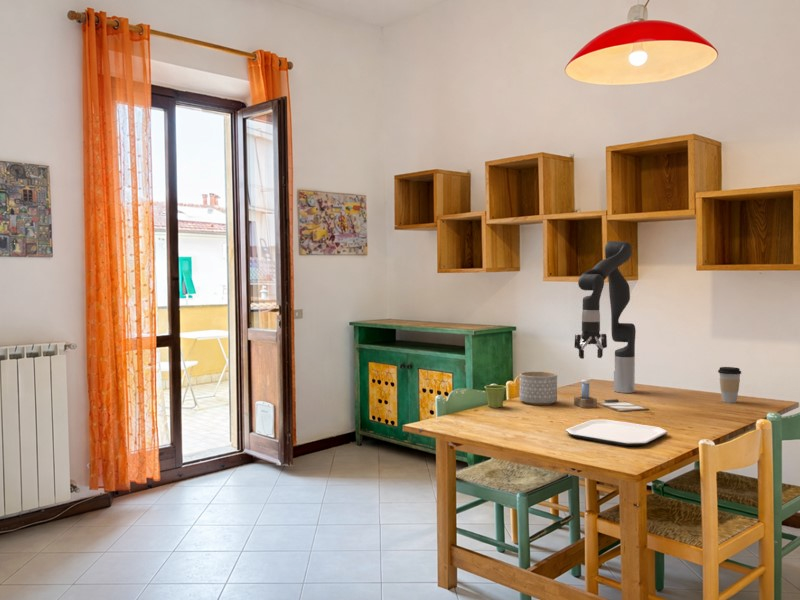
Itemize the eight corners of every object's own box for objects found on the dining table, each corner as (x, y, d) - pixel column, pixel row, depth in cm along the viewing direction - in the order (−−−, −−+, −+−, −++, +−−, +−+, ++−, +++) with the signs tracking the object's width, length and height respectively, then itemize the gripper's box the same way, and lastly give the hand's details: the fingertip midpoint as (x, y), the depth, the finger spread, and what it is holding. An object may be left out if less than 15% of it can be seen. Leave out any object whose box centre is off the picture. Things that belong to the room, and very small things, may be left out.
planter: (561, 405, 285) (561, 376, 285) (523, 406, 285) (523, 377, 284) (552, 398, 301) (552, 371, 301) (516, 399, 301) (516, 371, 301)
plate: (672, 435, 233) (672, 428, 233) (640, 451, 211) (640, 444, 211) (595, 423, 252) (595, 417, 252) (559, 437, 230) (559, 431, 230)
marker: (579, 405, 285) (579, 379, 285) (586, 405, 286) (587, 379, 286) (583, 406, 282) (583, 381, 282) (590, 406, 283) (591, 380, 283)
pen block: (574, 404, 287) (574, 396, 287) (588, 404, 288) (588, 396, 288) (582, 407, 280) (582, 399, 280) (596, 407, 282) (596, 398, 281)
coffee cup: (744, 404, 286) (744, 369, 286) (721, 403, 288) (721, 369, 287) (736, 400, 296) (737, 366, 295) (714, 399, 297) (714, 366, 297)
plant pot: (482, 408, 281) (482, 387, 281) (486, 404, 290) (486, 384, 290) (504, 409, 278) (504, 388, 278) (507, 405, 287) (507, 385, 287)
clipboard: (596, 403, 289) (596, 400, 289) (624, 402, 292) (624, 398, 292) (619, 411, 271) (619, 408, 271) (649, 410, 274) (649, 406, 274)
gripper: (600, 319, 288) (600, 356, 288) (571, 320, 284) (571, 357, 284) (610, 320, 280) (610, 358, 281) (580, 321, 277) (580, 359, 277)
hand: (590, 358), depth 283 cm, fingers open, 8 cm apart
